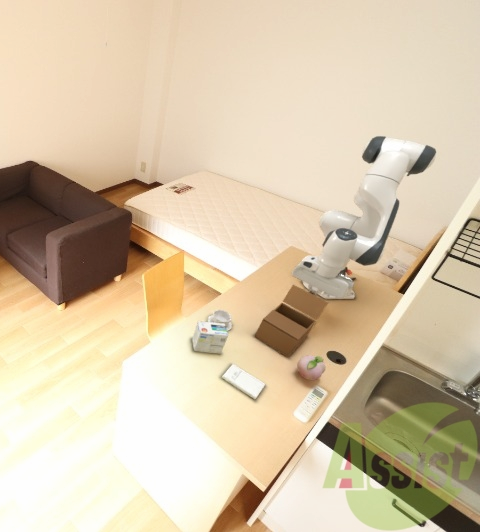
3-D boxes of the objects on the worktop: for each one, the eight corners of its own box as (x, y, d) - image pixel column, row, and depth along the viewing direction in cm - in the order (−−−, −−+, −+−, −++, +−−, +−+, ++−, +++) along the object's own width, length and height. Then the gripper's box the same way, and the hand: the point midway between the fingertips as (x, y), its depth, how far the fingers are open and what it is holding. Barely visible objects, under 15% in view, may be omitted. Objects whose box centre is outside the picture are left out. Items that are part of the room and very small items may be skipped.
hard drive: (254, 400, 123) (221, 378, 129) (264, 386, 127) (231, 365, 134) (256, 397, 122) (223, 375, 128) (265, 383, 126) (233, 362, 133)
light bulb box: (217, 341, 144) (225, 322, 137) (221, 354, 138) (229, 335, 132) (191, 338, 144) (197, 320, 138) (193, 351, 139) (200, 332, 133)
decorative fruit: (298, 362, 137) (309, 344, 131) (321, 375, 132) (333, 358, 126) (288, 375, 132) (299, 357, 126) (311, 390, 127) (323, 372, 121)
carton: (273, 318, 156) (282, 301, 150) (306, 337, 148) (317, 319, 142) (254, 336, 147) (263, 318, 141) (287, 357, 139) (298, 339, 132)
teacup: (223, 335, 146) (226, 327, 144) (202, 321, 153) (205, 313, 150) (236, 325, 152) (239, 317, 149) (216, 312, 158) (218, 304, 155)
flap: (282, 301, 150) (282, 301, 150) (316, 320, 142) (316, 319, 142) (293, 284, 147) (293, 284, 147) (328, 302, 139) (328, 302, 139)
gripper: (359, 277, 134) (341, 304, 142) (304, 253, 147) (290, 279, 155) (353, 284, 131) (335, 311, 139) (297, 258, 143) (284, 285, 151)
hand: (311, 294), depth 147 cm, fingers closed
